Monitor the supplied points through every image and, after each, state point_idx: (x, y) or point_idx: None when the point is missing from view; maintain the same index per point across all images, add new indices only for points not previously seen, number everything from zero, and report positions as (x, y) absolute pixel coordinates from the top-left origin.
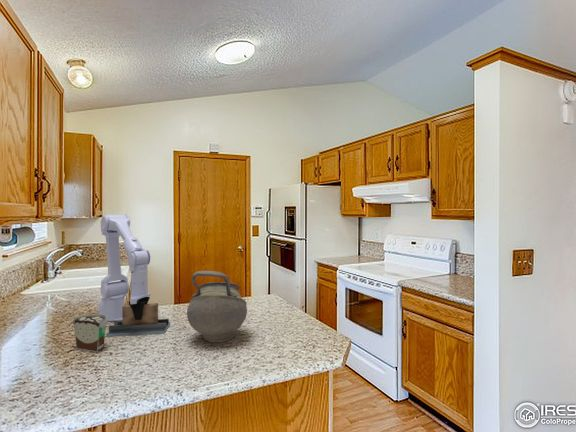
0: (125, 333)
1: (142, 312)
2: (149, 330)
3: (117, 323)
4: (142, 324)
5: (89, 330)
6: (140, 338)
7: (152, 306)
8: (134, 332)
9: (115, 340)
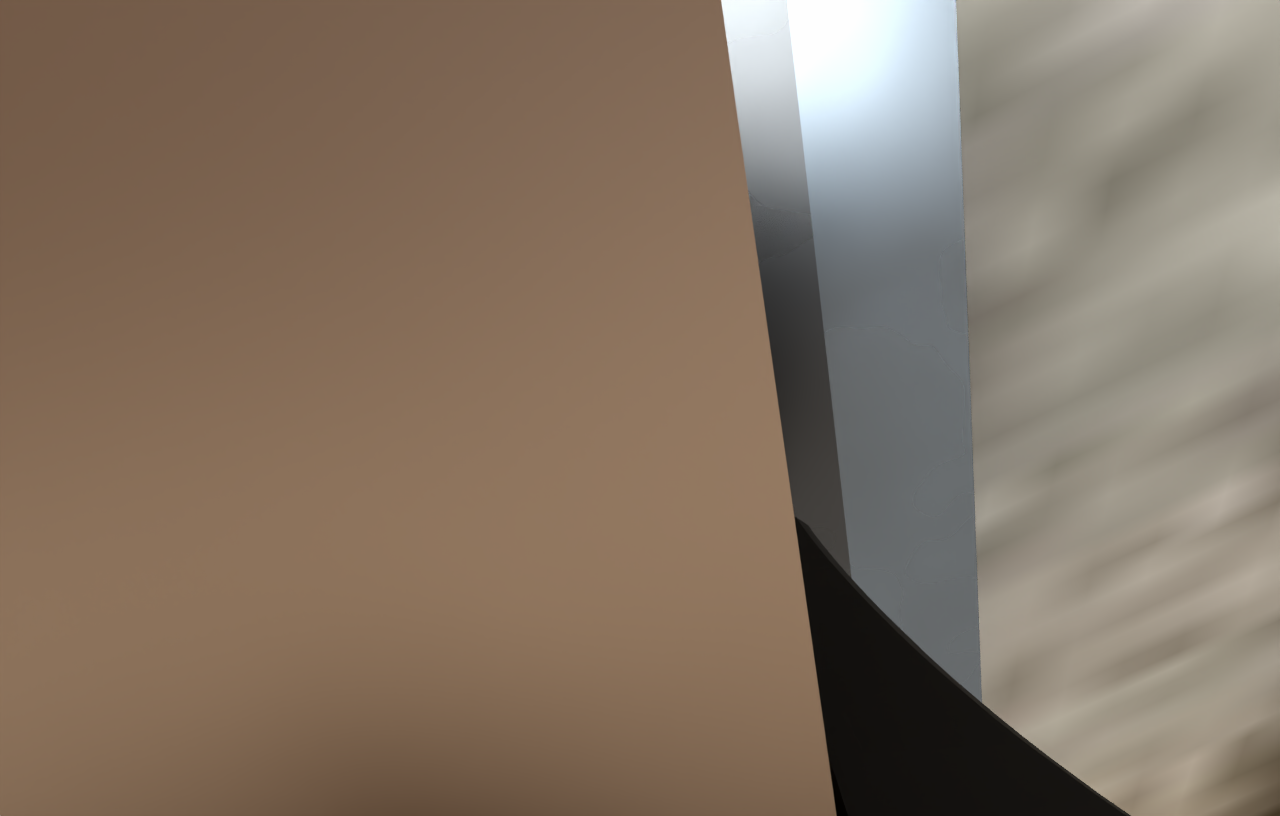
0: (971, 586)
1: (824, 668)
2: (855, 55)
3: None
4: (814, 367)
5: None
6: (1217, 110)
7: (745, 297)
8: (970, 413)
9: (1208, 599)
